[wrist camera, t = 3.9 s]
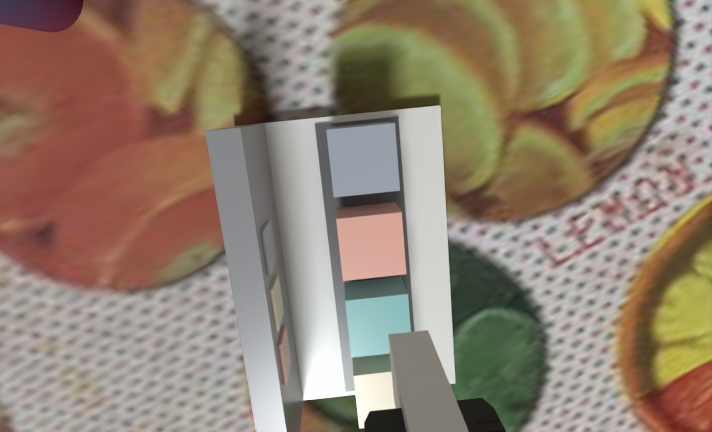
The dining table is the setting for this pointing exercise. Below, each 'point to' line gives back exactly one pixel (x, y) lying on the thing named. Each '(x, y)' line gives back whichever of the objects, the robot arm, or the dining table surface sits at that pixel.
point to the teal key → (375, 314)
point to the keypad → (320, 252)
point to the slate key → (363, 159)
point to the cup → (40, 14)
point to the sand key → (372, 385)
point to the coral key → (371, 241)
